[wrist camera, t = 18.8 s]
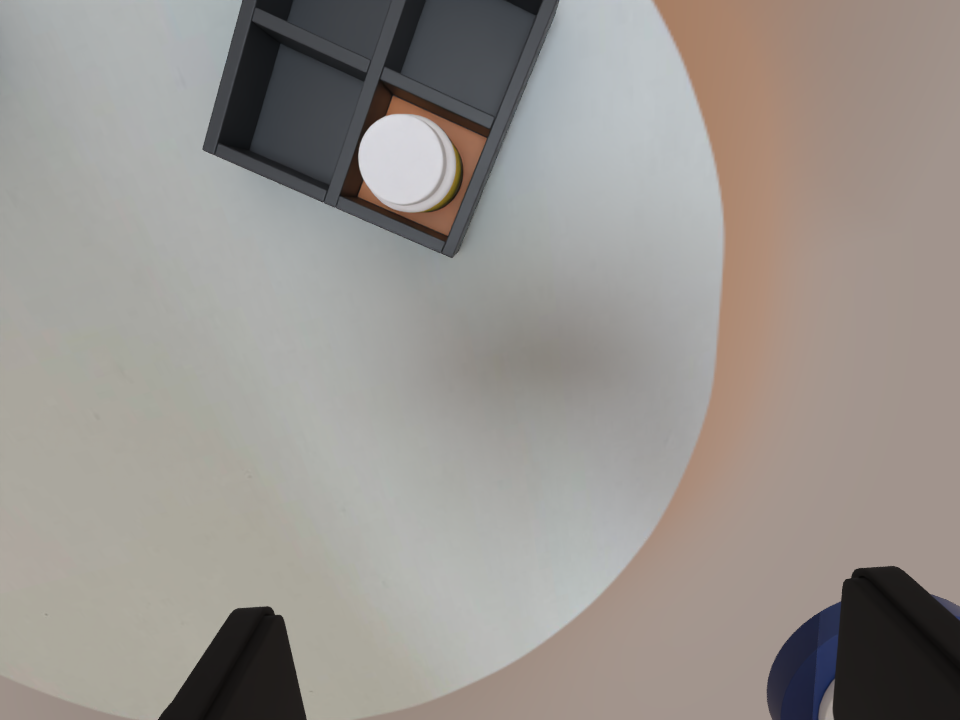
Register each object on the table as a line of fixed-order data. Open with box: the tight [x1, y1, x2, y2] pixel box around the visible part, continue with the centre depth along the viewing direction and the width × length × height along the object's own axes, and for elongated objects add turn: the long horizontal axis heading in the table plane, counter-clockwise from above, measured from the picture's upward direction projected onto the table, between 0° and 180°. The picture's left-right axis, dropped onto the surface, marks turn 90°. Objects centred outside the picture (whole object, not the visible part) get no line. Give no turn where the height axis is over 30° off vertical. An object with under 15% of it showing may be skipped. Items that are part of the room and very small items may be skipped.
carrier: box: [203, 0, 559, 258], centre depth 31 cm, size 15×15×4 cm
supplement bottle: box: [358, 114, 463, 213], centre depth 29 cm, size 5×5×8 cm
